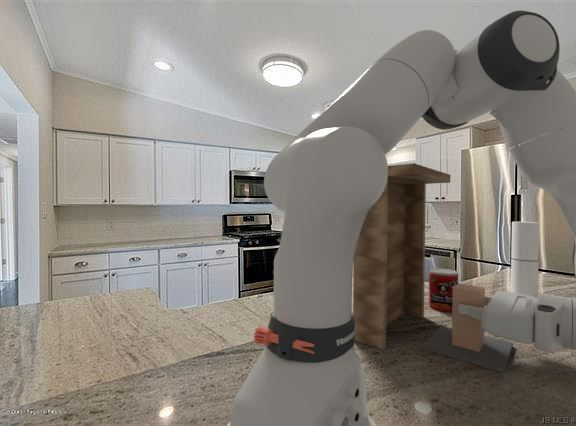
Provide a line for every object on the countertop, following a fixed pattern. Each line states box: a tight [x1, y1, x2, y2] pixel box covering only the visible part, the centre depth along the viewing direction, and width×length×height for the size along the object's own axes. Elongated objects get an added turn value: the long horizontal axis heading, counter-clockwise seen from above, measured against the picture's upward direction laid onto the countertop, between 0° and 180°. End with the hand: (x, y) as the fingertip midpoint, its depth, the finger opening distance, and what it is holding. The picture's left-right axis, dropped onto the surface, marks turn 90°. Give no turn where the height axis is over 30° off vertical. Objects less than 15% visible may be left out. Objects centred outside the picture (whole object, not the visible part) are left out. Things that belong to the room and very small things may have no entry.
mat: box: [422, 325, 514, 374], centre depth 65 cm, size 14×14×1 cm
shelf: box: [352, 163, 451, 351], centre depth 73 cm, size 13×26×38 cm, turn 139°
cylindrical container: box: [510, 221, 540, 298], centre depth 102 cm, size 7×7×25 cm
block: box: [451, 282, 486, 352], centre depth 65 cm, size 5×5×12 cm
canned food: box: [428, 267, 459, 313], centre depth 91 cm, size 8×8×11 cm
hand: (463, 303), depth 65 cm, fingers open, 7 cm apart
